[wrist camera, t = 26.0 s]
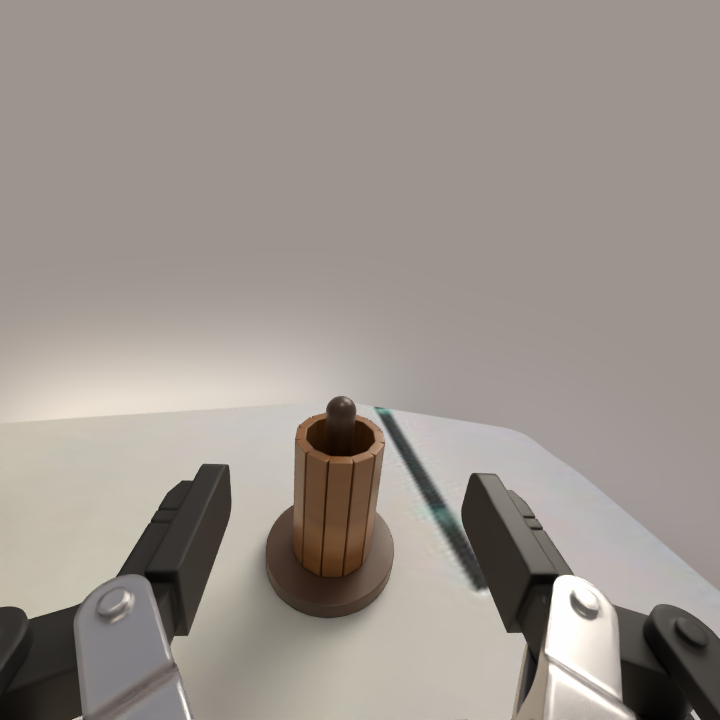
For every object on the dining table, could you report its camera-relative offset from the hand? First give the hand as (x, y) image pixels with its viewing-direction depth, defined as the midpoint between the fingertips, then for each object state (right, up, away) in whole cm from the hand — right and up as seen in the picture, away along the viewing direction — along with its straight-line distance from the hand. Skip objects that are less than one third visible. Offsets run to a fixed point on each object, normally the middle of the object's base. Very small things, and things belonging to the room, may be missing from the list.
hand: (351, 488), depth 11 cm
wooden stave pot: (-2, -10, +16) cm, 19 cm away
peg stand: (-2, -11, +16) cm, 20 cm away
